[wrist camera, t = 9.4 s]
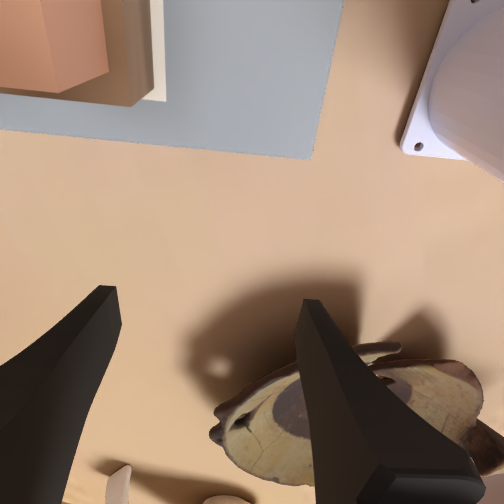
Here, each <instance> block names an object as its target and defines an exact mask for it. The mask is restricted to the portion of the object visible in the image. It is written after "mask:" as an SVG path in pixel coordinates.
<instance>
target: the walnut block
mask: <svg viewBox="0 0 504 504" xmlns="http://www.w3.org/2000/svg"><path fill="white" fill-rule="evenodd" d="M101 7H102V15H103V24H104V32H105V41H106V50H107V58H108V67H109V72H108V73H105V74H103V75H100V76H98V77H96V78H93V79H91V80H88V81H86V82H84V83H81V84H79V85H76V86H74V87H72V88H69V89H67V90H64V91H62V92H60V93H53V92H44V91H35V90H25V89H16V88H6V87H0V93H2V94H11V95H20V96H30V97H39V98H49V99H58V100H67V101H77V102H86V103H95V104H105V105H114V106H124V107H132V106H133V105H134V104H136V103H137V102H138V101H139V100H141V99H142V98H143V97H144V96H146V95H147V94H148V93H149V92H151V91H152V90H153V89H154V73H153V53H152V33H151V12H150V0H101Z"/></svg>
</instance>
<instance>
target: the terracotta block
mask: <svg viewBox="0 0 504 504" xmlns="http://www.w3.org/2000/svg"><path fill="white" fill-rule="evenodd" d="M108 72H109V67H108V58H107V50H106V41H105V32H104V24H103V15H102V7H101V0H0V87H6V88H16V89H25V90H35V91H44V92H53V93H60V92H62V91H64V90H67V89H69V88H72V87H74V86H76V85H79V84H81V83H84V82H86V81H88V80H91V79H93V78H96V77H98V76H100V75H103V74H105V73H108Z"/></svg>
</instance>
